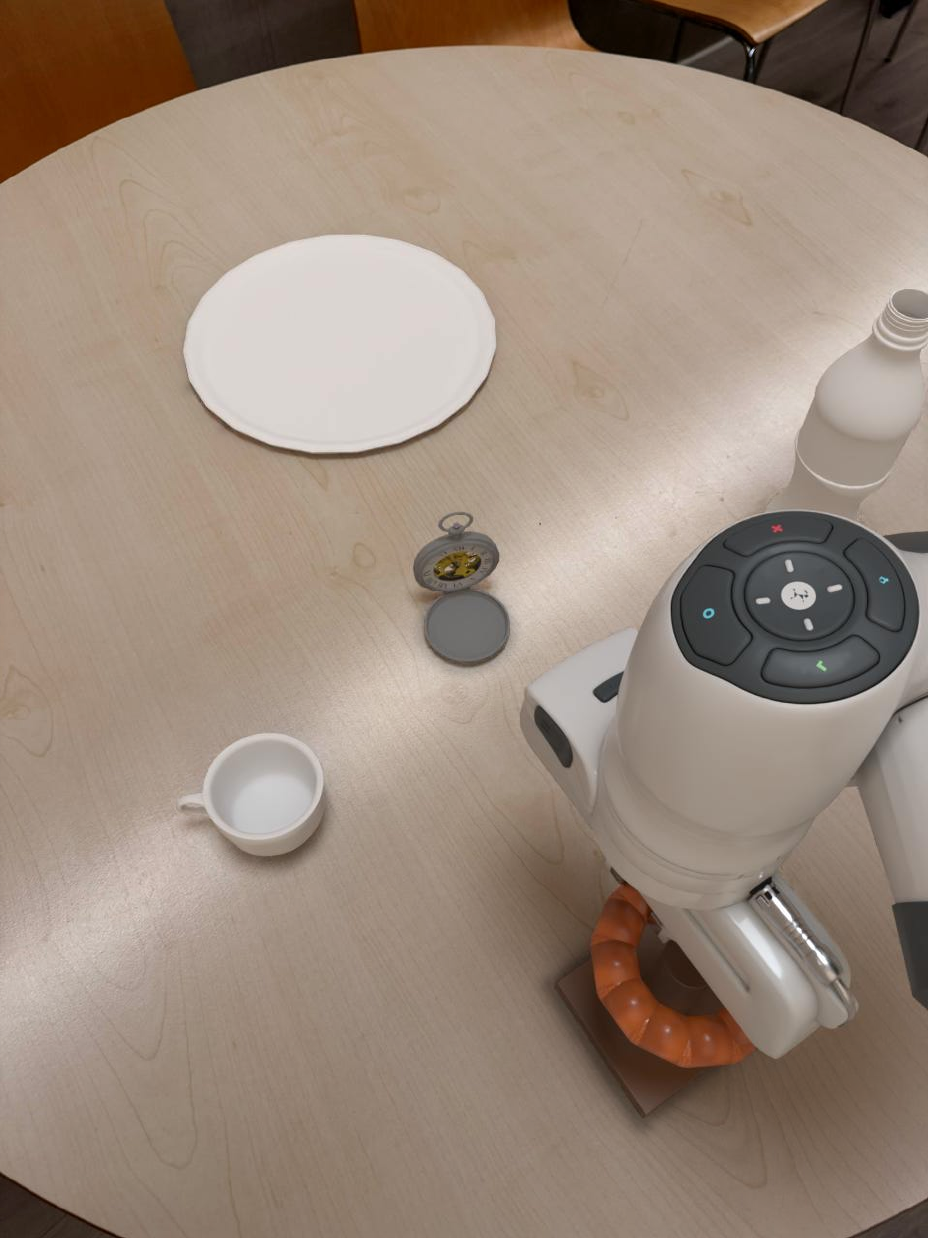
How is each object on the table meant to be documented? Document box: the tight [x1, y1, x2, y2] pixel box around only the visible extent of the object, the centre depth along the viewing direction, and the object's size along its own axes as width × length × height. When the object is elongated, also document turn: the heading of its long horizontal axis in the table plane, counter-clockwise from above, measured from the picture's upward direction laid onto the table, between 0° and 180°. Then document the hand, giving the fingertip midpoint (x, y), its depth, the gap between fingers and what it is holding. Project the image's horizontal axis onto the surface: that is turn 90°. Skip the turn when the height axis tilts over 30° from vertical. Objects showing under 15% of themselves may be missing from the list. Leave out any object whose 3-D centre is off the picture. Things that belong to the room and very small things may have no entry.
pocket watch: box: [412, 511, 511, 665], centre depth 76 cm, size 8×8×10 cm
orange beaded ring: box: [589, 882, 757, 1068], centre depth 55 cm, size 10×10×2 cm
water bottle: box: [765, 287, 928, 522], centre depth 74 cm, size 7×7×25 cm
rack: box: [554, 923, 725, 1119], centre depth 59 cm, size 9×9×12 cm
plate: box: [182, 233, 497, 455], centre depth 96 cm, size 29×29×1 cm
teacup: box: [175, 732, 325, 857], centre depth 69 cm, size 10×8×5 cm
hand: (644, 896), depth 56 cm, fingers closed on orange beaded ring, 2 cm apart
